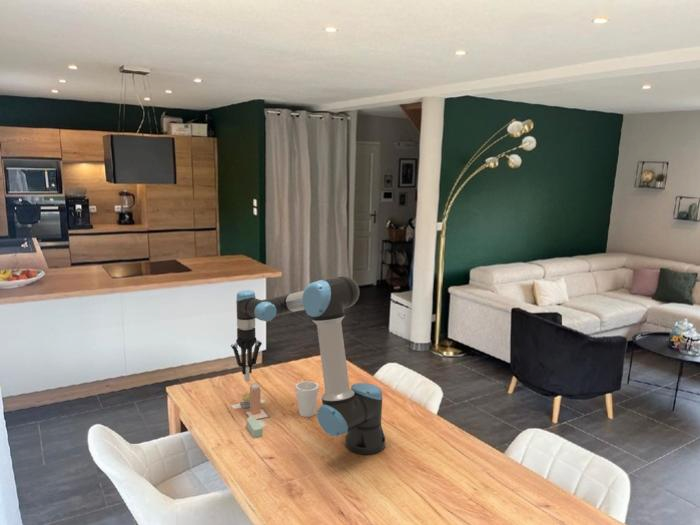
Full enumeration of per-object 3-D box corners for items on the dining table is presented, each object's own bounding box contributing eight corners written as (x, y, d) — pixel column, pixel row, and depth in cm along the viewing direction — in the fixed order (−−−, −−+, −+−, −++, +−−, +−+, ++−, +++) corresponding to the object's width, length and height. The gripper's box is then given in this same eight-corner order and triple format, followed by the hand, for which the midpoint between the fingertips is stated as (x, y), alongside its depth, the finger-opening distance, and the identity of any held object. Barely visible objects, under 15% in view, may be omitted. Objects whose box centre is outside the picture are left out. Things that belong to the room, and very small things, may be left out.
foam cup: (307, 422, 211) (307, 392, 209) (290, 415, 217) (291, 386, 214) (322, 414, 219) (323, 385, 216) (306, 407, 224) (306, 379, 222)
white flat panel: (286, 428, 206) (286, 424, 205) (252, 437, 199) (252, 432, 199) (262, 400, 230) (262, 396, 229) (231, 407, 223) (231, 402, 223)
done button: (252, 400, 222) (252, 396, 221) (244, 402, 220) (244, 397, 220) (250, 397, 225) (249, 392, 224) (241, 398, 223) (241, 394, 223)
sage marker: (262, 436, 198) (262, 428, 198) (254, 438, 197) (254, 430, 196) (253, 423, 207) (253, 415, 206) (245, 425, 205) (245, 417, 205)
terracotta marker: (260, 413, 216) (260, 385, 214) (252, 414, 215) (252, 387, 212) (257, 409, 219) (257, 382, 217) (250, 411, 217) (249, 384, 215)
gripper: (258, 323, 223) (258, 374, 227) (228, 326, 216) (229, 380, 221) (264, 328, 216) (264, 381, 221) (233, 332, 210) (234, 386, 214)
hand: (246, 380), depth 221 cm, fingers closed
